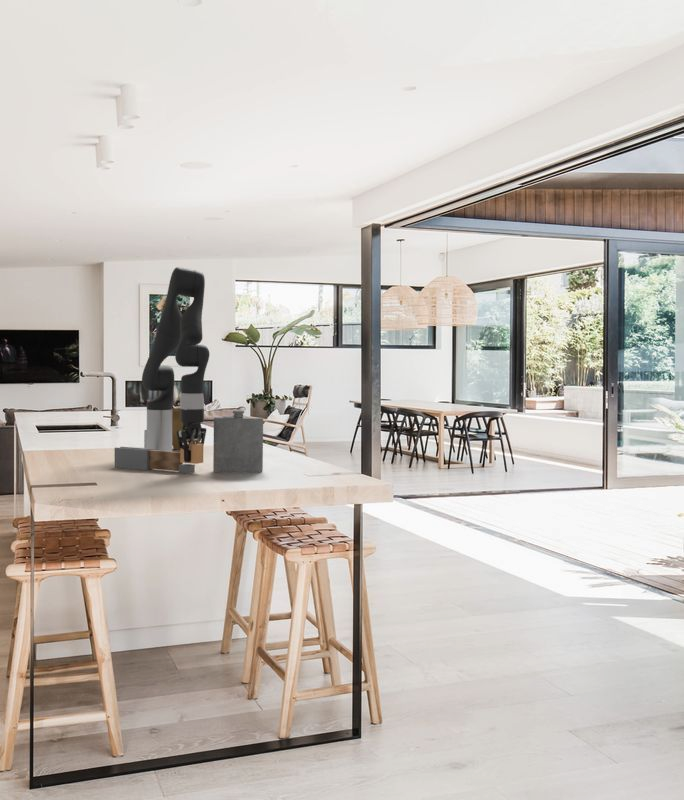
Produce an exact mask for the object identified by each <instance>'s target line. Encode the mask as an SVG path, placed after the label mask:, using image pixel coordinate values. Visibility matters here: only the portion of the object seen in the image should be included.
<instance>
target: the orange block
mask: <svg viewBox="0 0 684 800" xmlns="http://www.w3.org/2000/svg"><path fill="white" fill-rule="evenodd" d="M187 444H189V443H187ZM182 445H183V444H182ZM179 452H180V463H183V464H193V465H198V464H202V463H203V464H204V445H203V444H199V443H196V442H195V443H192V445H191V462H185V461H184V450H183V449H181V448H180V450H179Z"/></svg>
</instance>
